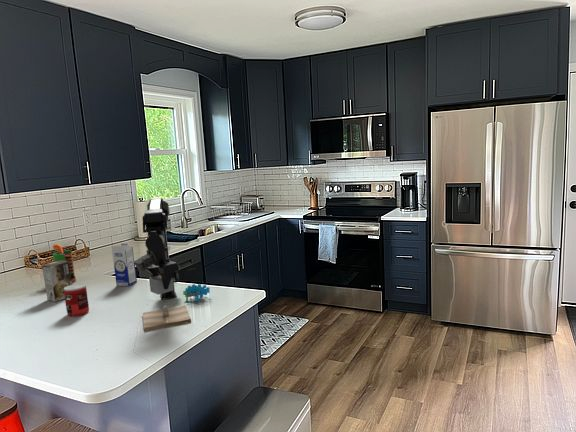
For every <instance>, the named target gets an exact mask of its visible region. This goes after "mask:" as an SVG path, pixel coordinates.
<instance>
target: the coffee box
mask: <svg viewBox="0 0 576 432" xmlns="http://www.w3.org/2000/svg"><path fill="white" fill-rule="evenodd" d="M41 268H42V274H43V275H42V276H43V280H44V281H43V282H44V286H45V288H44V289H45V293H46V299H47V301H49V300H51V302H54V301H56V302H58V300H59V301H61V300H65V296H64V288H65V287H67V286H70V285H73V283H72V279H71V273H70V267H69V261H63V260H60V261H56V262H54V261H53V262H49V263H45V264H42V265H41Z"/></svg>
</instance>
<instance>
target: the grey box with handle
mask: <svg viewBox="0 0 576 432" xmlns="http://www.w3.org/2000/svg"><path fill="white" fill-rule="evenodd" d="M148 279H149V280H148V282H149V289H150V293H153V294H156V295H160V294H163V293H166V292H169V291H173V290H174V289H173V279H171V281H170V284H169V287H168V289H166V290H165V289H164V286H163V281H162V277H161V276H160V275H157V276H153V277H152V276H150V277H148Z"/></svg>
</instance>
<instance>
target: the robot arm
mask: <svg viewBox="0 0 576 432" xmlns="http://www.w3.org/2000/svg"><path fill="white" fill-rule="evenodd" d="M146 209H147V210H145V211H144V215H143V214H142V233H143V234H145V233H147V237H146V240H145V243H144V244H145V248H146V253H145V254H144V255H142V256H141V257H139V258H137V259H136V260H134V263H135V268H136V269H137V270H138V271H141V272H144V271H146V272H148V273H149V274H150V275H151V276H150V277H153V276H157V275H160V276H161V277H162V281H163V286H164V289H165V290H166V289H168V287H169V284H170V281H171V279H173V289H174V290H173V291H169V292H166V293H163V294H159V295H160V296H159V297H160V300H166V299H167V300H168V299H171V298H177V297H178V295H177V292H176V289H175V283H178V282H179V273H178V271H180V269H181V267H180V264H179V263H178V262H176V261H172V260H170V255H169V245H168V238H167V236H168V235H167V229H168V222H169V216H171V215H170V214H171V213H170V206H169V203H168V202H167V201H165V200H164V199H163V197H152V198H149V202H148V203H147V204H146Z"/></svg>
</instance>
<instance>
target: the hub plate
mask: <svg viewBox="0 0 576 432" xmlns="http://www.w3.org/2000/svg"><path fill="white" fill-rule="evenodd" d="M161 308H162V309H157V310H156V309H155V310H151V311H146V312H142V320H143V331H144V332H146V331H147V332H148V331H152V330H157V329H163V328H166V327H168V328H169V327H174V326H178V325H184V324H188V323H189V324H190V323H192V318H191V316H190V313H189V310H188V309H187V306H186V305H180V306H179V305H178V306H173V307H169V305H164V306H162V307H161Z"/></svg>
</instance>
